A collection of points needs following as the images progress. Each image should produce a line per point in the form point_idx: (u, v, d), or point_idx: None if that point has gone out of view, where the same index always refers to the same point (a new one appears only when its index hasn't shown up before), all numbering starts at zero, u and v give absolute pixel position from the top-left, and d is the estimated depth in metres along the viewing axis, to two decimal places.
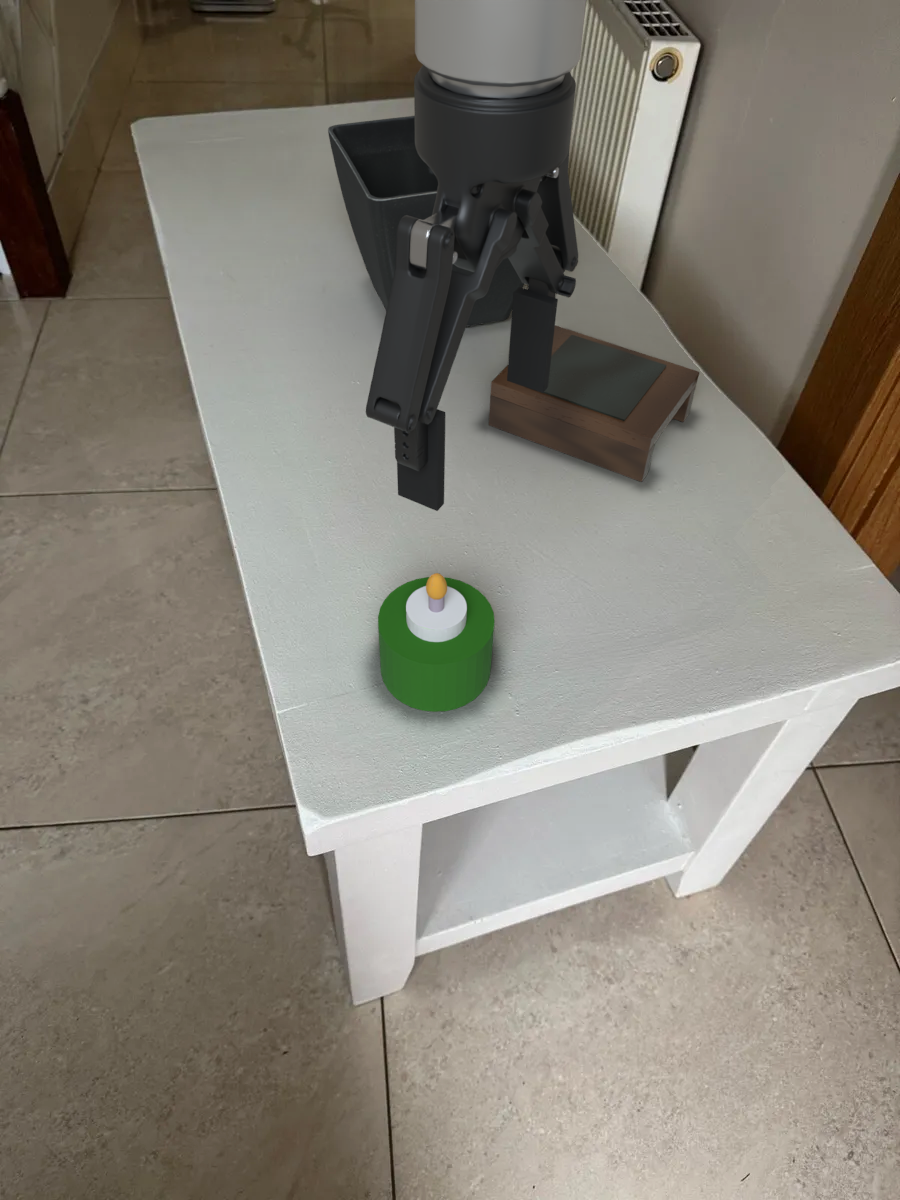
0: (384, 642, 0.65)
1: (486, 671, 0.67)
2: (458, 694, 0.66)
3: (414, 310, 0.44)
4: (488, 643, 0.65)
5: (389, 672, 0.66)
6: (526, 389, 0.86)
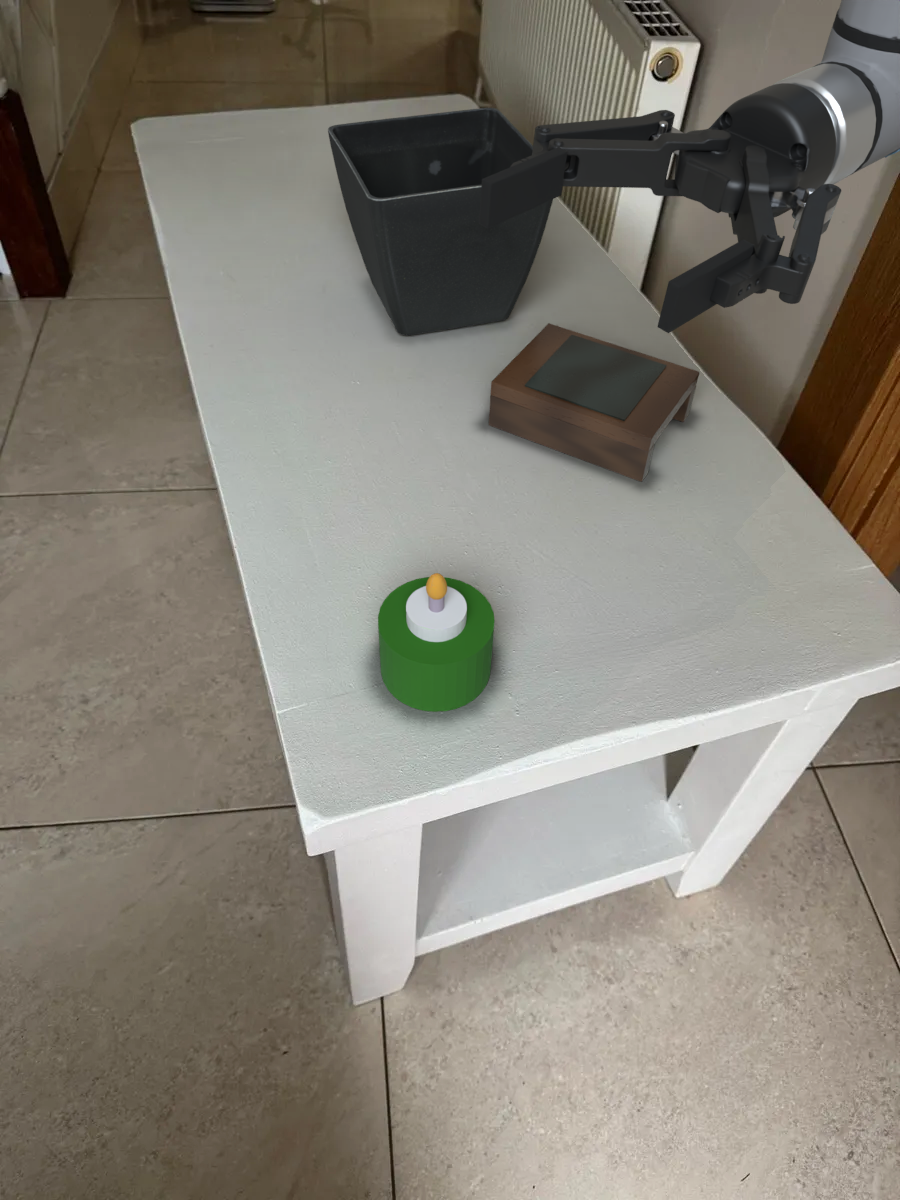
0: (384, 642, 0.65)
1: (486, 671, 0.67)
2: (458, 694, 0.66)
3: None
4: (488, 643, 0.65)
5: (389, 672, 0.66)
6: (526, 389, 0.86)
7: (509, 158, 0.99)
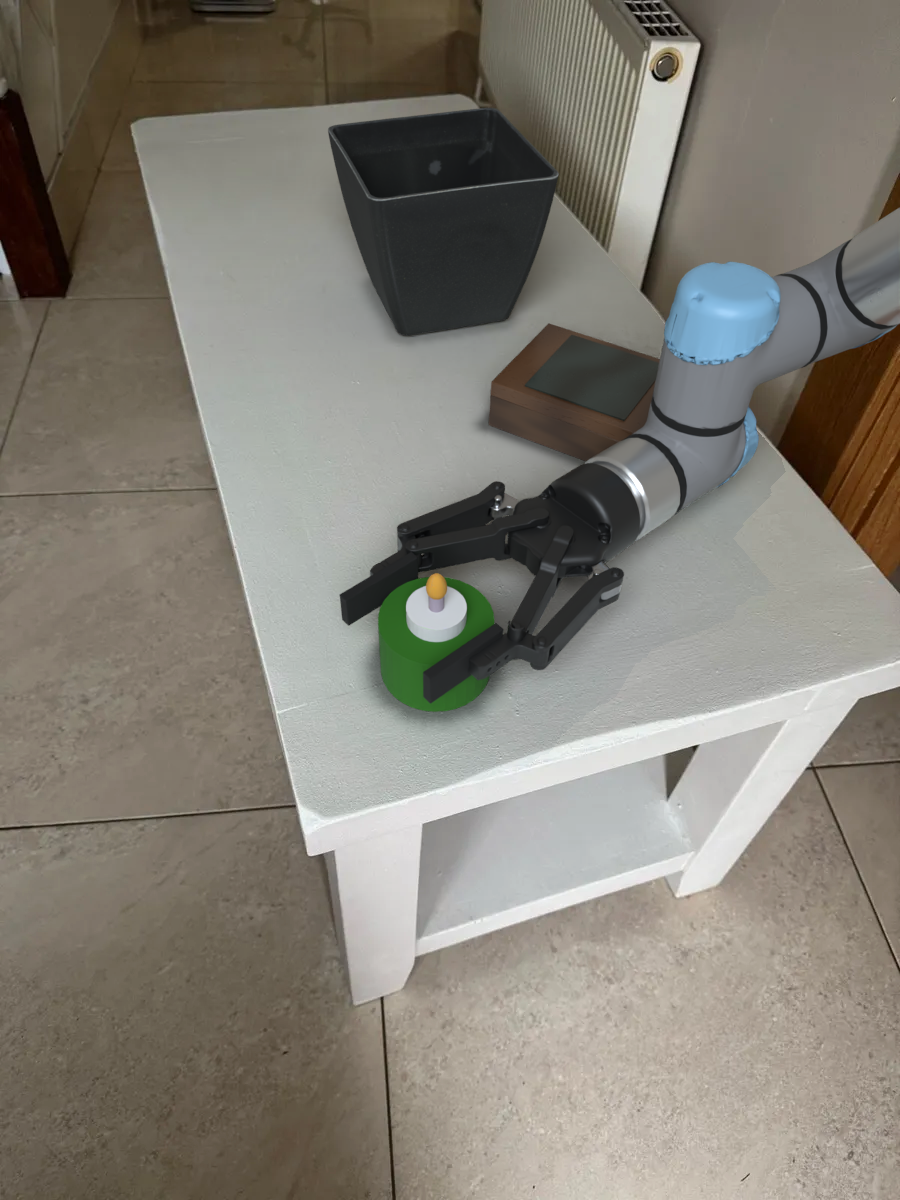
0: (384, 642, 0.65)
1: None
2: (458, 694, 0.66)
3: None
4: None
5: (389, 672, 0.66)
6: (526, 389, 0.86)
7: (509, 158, 0.99)
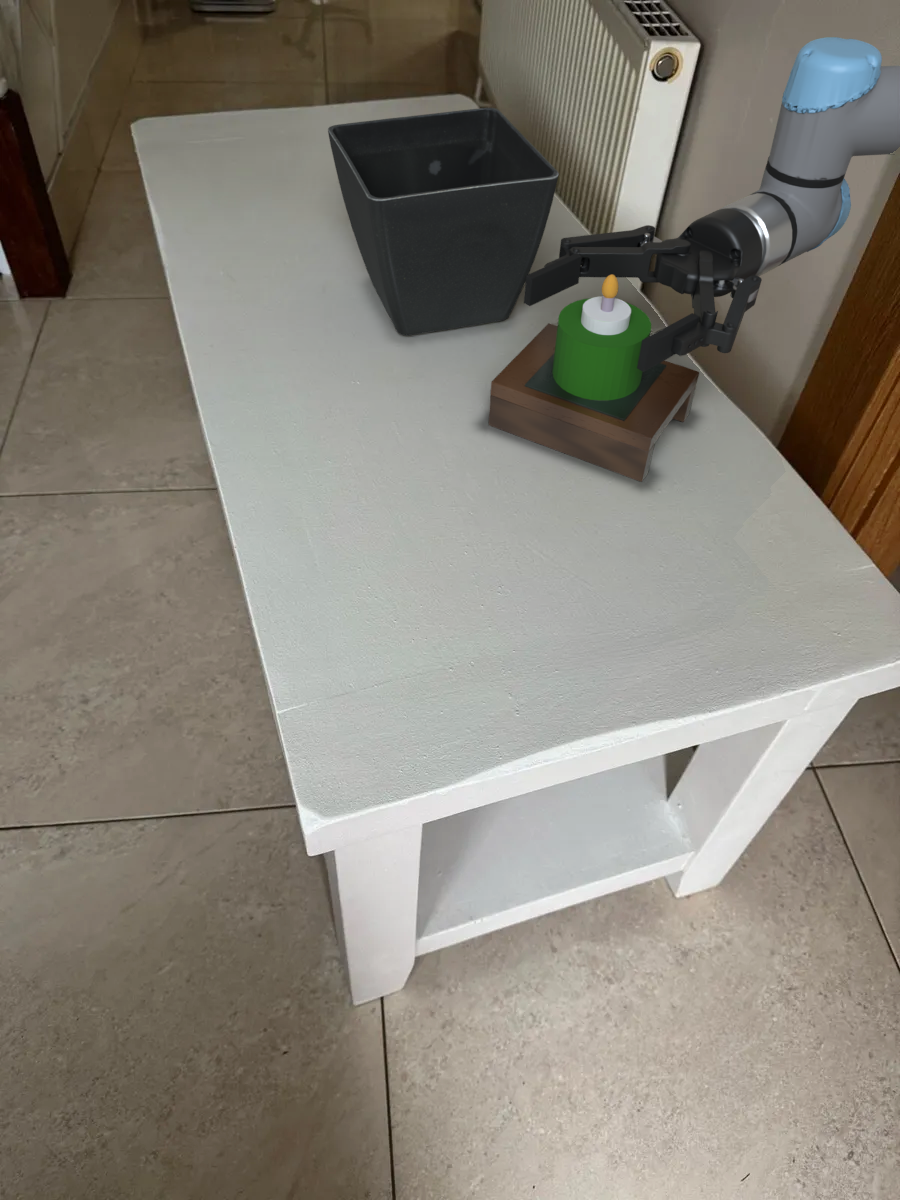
0: (566, 336, 0.82)
1: None
2: (622, 382, 0.83)
3: None
4: None
5: (566, 366, 0.84)
6: (526, 389, 0.86)
7: (509, 158, 0.99)
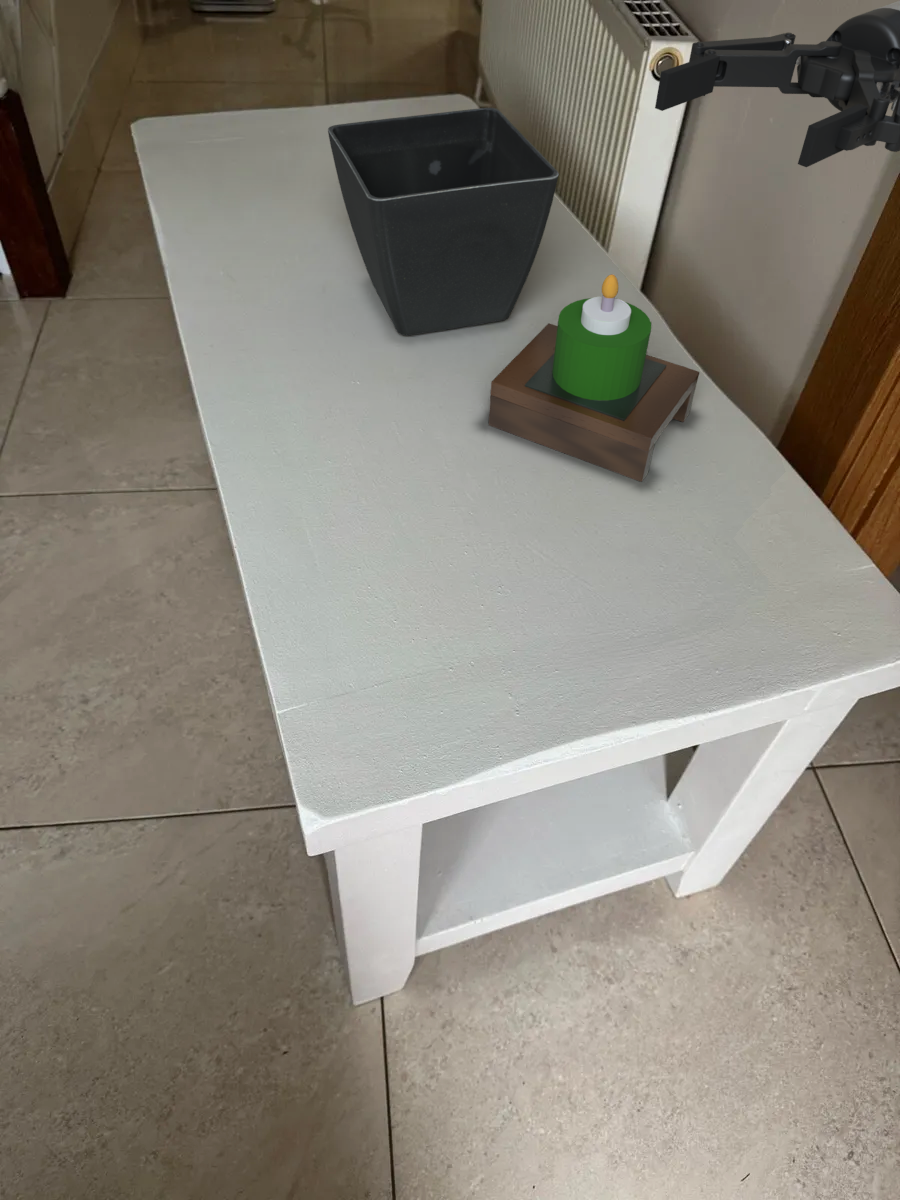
0: (566, 336, 0.82)
1: (641, 369, 0.84)
2: (622, 382, 0.83)
3: None
4: (648, 338, 0.82)
5: (566, 366, 0.84)
6: (526, 389, 0.86)
7: (509, 158, 0.99)
